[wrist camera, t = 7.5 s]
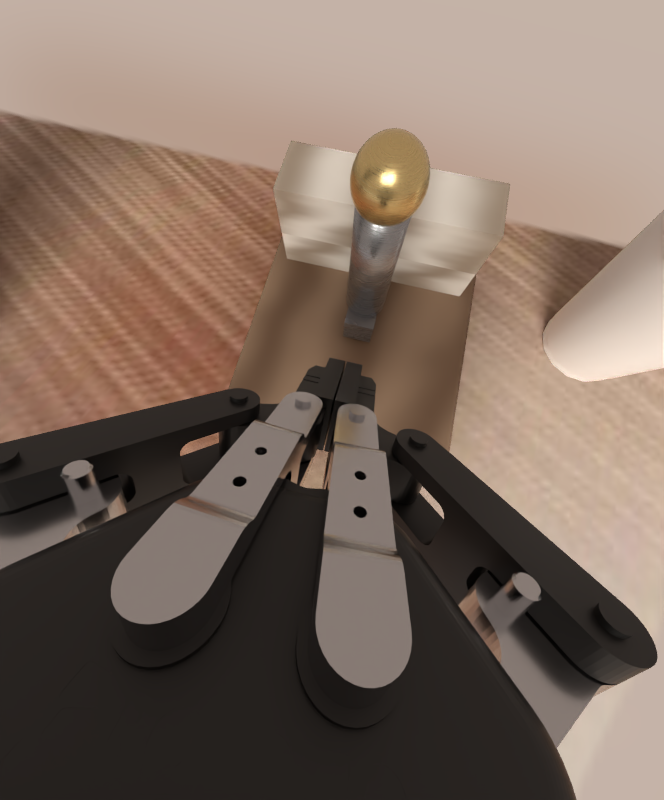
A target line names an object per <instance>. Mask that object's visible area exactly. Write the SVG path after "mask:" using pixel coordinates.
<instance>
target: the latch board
mask: <svg viewBox="0 0 664 800" xmlns="http://www.w3.org/2000/svg"><path fill="white" fill-rule="evenodd" d="M356 155H357V154H356V153H351V152H346V151H341V150H336V149H331V148H326V147H321V146H315V145H311V144H305V143H300V142H295V141H291V143H290V145H289V148H288V150H287V153H286V156H285V159H284V161H283V164H282V166H281V169H280V172H279V174H278V177H277V179H276V182H275V185H274V187H273V191H274V196H275V201H276V206H277V211H278V216H279V221H280V226H281V231H282V238H281V241H280V244H279V246H278V249H277V252H276V255H275V258H274V261H273V263H272V266H271V269H270V272H269V275H268V278H267V281H266V283H265V286H264V289H263V292H262V295H261V298H260V301H259V303H258V306H257V309H256V312H255V315H254V318H253V320H252V323H251V326H250V329H249V332H248V335H247V338H246V340H245V343H244V346H243V349H242V352H241V355H240V357H239V360H238V363H237V366H236V369H235V372H234V375H233V377H232V380H231V383H230V386H229V389H233V388H243V389H248V390H251V391H254V392H255V393H257V394H258V395H259V397H260V403H261V404H279V403H280V402H281V401H282V400H283V398H284V397H285V396H286V395H288V394H290V393H293V392H296V390H297V389H298V387H299V385H300V383H301V382H302V380H303V378H304V376H305V375H306V373H307V371H308V369H309V368H311V367H313V366H315V365H317V366H321V367H326V365H327V362H328V360H329V358H334V359H339V360H343V361H346V362H345V366H346V363H347V361H348V362H352V363H357V364H361V365H363V366H362V371H361V376H365V377H370V378H372V379H373V380H374V382H375V383H376V391H375V392H376V393H375V407H374V414H375V415H376V418H377V424H378V425H379V426H381V427H382V428H383V429H385V430H386V431H388V432H391V433H393V434H395V435H397V433H398V432H399V431H400V430H403V429H416V430H419V431H422V432H424V433H426V434H428V435H429V436H431V437H432V438H433V439H434V440H436V441H437V442H438V443H439V444H440V445H441V446H442V447H444V448H445V449H446V450H447V451H448V452H449V450H450V443H451V436H452V430H453V423H454V417H455V410H456V404H457V397H458V390H459V384H460V377H461V371H462V364H463V357H464V351H465V344H466V338H467V331H468V325H469V318H470V311H471V305H472V298H473V292H474V285H475V279H476V273H477V272H478V270H479V269H480V268H481V266H482V265H483V264H484V262H485V261H486V259H487V258H488V257H489V255H490V254H491V253H492V251H493V250H494V248H495V247H496V246H497V244H498V243H499V242H500V240H501V239H502V237H503V235H504V227H505V219H506V211H507V203H508V196H509V189H510V184H508V183H503V182H498V181H493V180H488V179H483V178H478V177H473V176H468V175H463V174H457V173H453V172H448V171H443V170H437V169H432V168H430V180H429V186H428V190H427V193H426V196H425V198H424V200H423V202H422V204H421V205H420V207H419V208H418V209H417V211H416V212H415V213H414V214H413V215H412V216H411V219H410V222H409V226H408V229H407V232H406V235H405V238H404V242H403V245H402V248H401V251H400V254H399V257H398V261H397V264H396V267H395V270H394V273H393V277H392V280H391V283H390V286H389V289H388V292H387V296H386V299H385V302H384V305H383V308H382V310H381V311H380V312H379V313H378V314H377V316H376V320H375V324H374V328H373V332H372V335H371V339H370V342H366V341H362V340H357V339H353V338H349V337H345V336H343V331H344V322H345V318H346V314H347V311H348V306H347V302H346V297H347V286H348V275H349V264H350V253H351V242H352V231H353V220H354V209H355V205H354V203H353V200H352V197H351V192H350V174H351V169H352V165H353V162H354V160H355V158H356ZM344 369H345V367H344ZM327 436H328V434H327ZM326 441H327V437H326ZM326 441H325V445H326Z"/></svg>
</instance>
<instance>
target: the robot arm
mask: <svg viewBox="0 0 664 800" xmlns="http://www.w3.org/2000/svg"><path fill="white" fill-rule="evenodd" d="M345 362H346V361H343V360H339V359H334V358H329V360H328V362H327V365H326V367H321V366H317V365H315V366H313V367H311V368H309V369H308V371H307V373H306V375H305V376H304V378H303V380H302V382H301V383H300V385H299V387H298V389H297V390H296V392H293V393H290V394H288V395H286V396H285V397H284V398H283V400H282V401H281V402H280V403H279V404H261V403H260V397H259V395H258V394H257V393H255V392H254V391H251V390H248V389H243V388H233V389H228V390H224V391H220V392H215V393H211V394H207V395H203V396H198V397H194V398H190V399H186V400H182V401H177V402H173V403H169V404H165V405H161V406H156V407H152V408H148V409H144V410H140V411H135V412H131V413H127V414H123V415H118V416H114V417H110V418H106V419H102V420H97V421H93V422H89V423H85V424H81V425H76V426H72V427H68V428H64V429H60V430H55V431H51V432H47V433H43V434H38V435H34V436H30V437H26V438H22V439H17V440H13V441H9V442H5V443H1V444H0V800H576V797H575V793H574V790H573V787H572V784H571V781H570V778H569V776H568V773H567V771H566V768H565V766H564V763H563V761H562V759H561V757H560V755H559V753H558V750H557V747H558V746H559V744H560V743H561V741H562V740H563V738H564V737H565V736H566V734H567V733H568V731H569V730H570V729H571V727H572V726H573V724H574V723H575V721H576V720H577V719H578V717H579V716H580V714H581V713H582V712H583V710H584V709H585V707H586V706H587V704H588V703H589V702H590V700H591V699H592V697H594V696H596V695H598V694H600V693H602V692H604V691H606V690H608V689H609V688H611V687H613V686H615V685H617V684H619V683H621V682H623V681H625V680H627V679H629V678H631V677H633V676H635V675H637V674H639V673H641V672H643V671H645V670H647V669H649V668H651V667H652V666H654V665H655V663H656V662H657V651H656V647H655V644H654V642H653V640H652V638H651V636H650V634H649V633H648V631H647V629H646V628H645V627H644V625H643V624H642V623H641V621H640V620H639V619H638V618H637V617H636V616H635V615H634V614H633V613H632V611H631V610H629V609H628V608H627V607H626V606H625V605H624V604H623V603H622V602H621V601H619V600H618V599H617V598H616V597H615V596H614V595H613V594H611V593H610V592H609V591H608V590H607V589H606V588H604V587H603V586H602V585H601V584H600V583H599V582H598V581H596V580H595V579H594V578H593V577H592V576H591V575H590V574H588V573H587V572H586V571H585V570H584V569H583V568H582V567H580V566H579V565H578V564H577V563H576V562H575V561H573V560H572V559H571V558H570V557H569V556H568V555H567V554H565V553H564V552H563V551H562V550H561V549H560V548H559V547H557V546H556V545H555V544H554V543H553V542H552V541H550V540H549V539H548V538H547V537H546V536H545V535H544V534H542V533H541V532H540V531H539V530H538V529H537V528H536V527H534V526H533V525H532V524H531V523H530V522H529V521H527V520H526V519H525V518H524V517H523V516H522V515H521V514H519V513H518V512H517V511H516V510H515V509H514V508H513V507H511V506H510V505H509V504H508V503H507V502H506V501H505V500H503V499H502V498H501V497H500V496H499V495H498V494H496V493H495V492H494V491H493V490H492V489H491V488H490V487H488V486H487V485H486V484H485V483H484V482H483V481H482V480H480V479H479V478H478V477H477V476H476V475H475V474H473V473H472V472H471V471H470V470H469V469H468V468H467V467H465V466H464V465H463V464H462V463H461V462H460V461H459V460H457V459H456V458H455V457H454V456H453V455H452V454H450V453H449V452H448V451H447V450H446V449H445V448H444V447H442V446H441V445H440V444H439V443H438V442H437V441H436V440H434V439H433V438H432V437H431V436H429V435H428V434H426V433H424V432H422V431H419V430H416V429H403V430H400V431H399V432H398V433H397V435H395V434H393V433H391V432H388V431H386V430H385V429H383V428H382V427H381V426H379V425H378V424H377V418H376V415H375V414H374V407H375V393H376V392H375V391H376V383H375V382H374V380H373V379H372V378H370V377H365V376H361V371H362V366H363V365H361V364H357V363H352V362H348V361H347V363H346V366H345ZM344 367H345V369H344ZM217 432H219V443H217V444H214V445H212V446H209V447H206V448H203V449H200V450H197V451H195V452H192V453H189V454H186V455H183V456H180V451H181V449H182V447H183V446H184V445H185V444H187V443H188V442H190V441H193V440H196V439H199V438H202V437H205V436H208V435H211V434H214V433H217ZM327 434H328V436H327ZM326 437H327V441H326ZM325 441H326V446H325V450H324V451H327V452H329V453H328V458H327V462H326V466H325V472H324V479H323V486H322V489H310V488H304V487H302V485H303V483H304V480H305V478H306V476H307V474H308V471H309V469H310V467H311V464H312V460H313V457H314V456H315V453H316V450H317V449H319V450H323V448H324V444H325ZM422 486H423V487H424V488H425V489H426V490H427V491H428V492H429V493H430V494H431V496H432V497H433V498H434V499H435V500H436V501H437V502H438V503H439V504H440V506H441V507H442V509H443V512H444V519H443V518H442V517H441V516H440V515H439V514H438V513H437V512H436V511H435V509H434V508H433V507H432V506H431V505H430V504H429V503H428V502H427V501H426V500H425V498H424V497H423V496H422V495H421V494H420V493H419V492H420V490H421V487H422Z"/></svg>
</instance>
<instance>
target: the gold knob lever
mask: <svg viewBox="0 0 664 800" xmlns="http://www.w3.org/2000/svg"><path fill="white" fill-rule="evenodd" d="M429 180H430V164H429V158H428V155H427V152H426V150H425V148H424V146H423V144H422V143H421V141H420V140H419V139H418V138H417V137H416V136H415V135H413V134H412V133H410V132H408V131H406V130H403V129H397V128H396V129H395V128H394V129H386V130H383V131H380V132H378V133H377V134H375V135H373V136H372V137H371V138H369V139H368V140H367V141H366V142H365V144H364V145H363V146H362V147H361V149H360V150H359V152H358V154H357V155H356V158H355V160H354V162H353V165H352V169H351V174H350V192H351V197H352V200H353V203H354V205H355V209H354V220H353V231H352V242H351V253H350V264H349V275H348V286H347V297H346V302H347V306H348V311H347V314H346V318H345V322H344V331H343V336H345V337H349V338H353V339H357V340H362V341H366V342H370V339H371V335H372V332H373V328H374V324H375V320H376V316H377V314H378V313H379V312H380V311H381V310H382V308H383V305H384V302H385V299H386V296H387V292H388V289H389V286H390V283H391V280H392V277H393V273H394V270H395V267H396V264H397V261H398V257H399V254H400V251H401V248H402V245H403V242H404V238H405V235H406V232H407V229H408V226H409V222H410V219H411V216H412V215H413V214H414V213H415V212H416V211H417V209H418V208H419V207H420V205H421V204H422V202H423V200H424V198H425V196H426V193H427V190H428V186H429Z"/></svg>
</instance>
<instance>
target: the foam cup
mask: <svg viewBox="0 0 664 800" xmlns="http://www.w3.org/2000/svg"><path fill="white" fill-rule="evenodd" d="M543 348H544V350H545V352H546V354H547V356H548V358H549V360H550V361H551V363H552V365H554V366H555V367H556V368H557V369H559V370H560V371H561V372H562V373H563V374H565V375H566V376H568V377H571V378H574V379H577V380H580V381H583V382H588V381H598V380H603V379H611V378H616V377H621V376H626V375H631V374H636V373H641V372H646V371H651V370H656V369H661V368H664V210H663V211H662V213H660V214H659V215H658V216H657V217H656V218H655V219H654V220H653V221H652V222H651V223H650V224H649V225H648V226H647V227H646V228H645V229H644V230H643V231H642V232H641V233H640V234H638V235H637V236H636V237H635V238H634V239H633V240H632V241H631V242H630V243H629V244H628V245H627V246H626V247H625V248H624V249H623V250H622V251H621V252H620V253H619V254H618V255H617V256H615V257H614V258H613V259H612V260H611V261H610V262H609V263H608V264H607V265H606V266H605V267H604V268H603V269H602V270H601V271H600V272H599V273H598V274H597V275H596V276H595V277H594V278H593V279H592V280H590V281H589V282H588V283H587V284H586V285H585V286H584V287H583V288H582V289H581V290H580V291H579V292H578V293H577V294H576V295H575V296H574V297H573V298H572V299H571V300H570V301H569V302H568V303H567V304H565V305H564V306H563V307H562V308H561V309H560V310H559V311H558V312H557V313H556V314H555V315H554V317H553V318H552V319H550V320H549V322H548V324H547V326H546V328H545V330H544V332H543Z"/></svg>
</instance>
